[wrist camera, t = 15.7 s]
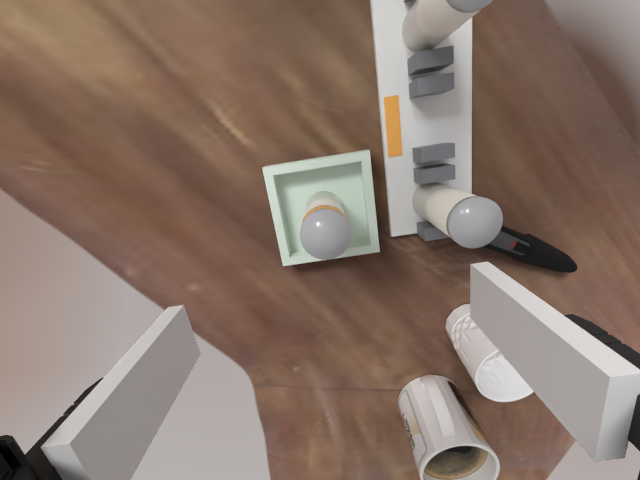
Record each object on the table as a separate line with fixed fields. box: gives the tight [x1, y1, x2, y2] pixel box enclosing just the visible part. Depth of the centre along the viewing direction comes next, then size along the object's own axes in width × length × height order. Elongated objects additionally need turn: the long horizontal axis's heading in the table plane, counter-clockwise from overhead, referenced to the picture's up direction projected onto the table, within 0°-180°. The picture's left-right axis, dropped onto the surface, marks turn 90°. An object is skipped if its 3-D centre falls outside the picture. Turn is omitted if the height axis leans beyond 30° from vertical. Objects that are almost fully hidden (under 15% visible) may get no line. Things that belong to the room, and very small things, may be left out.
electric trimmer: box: [482, 226, 577, 273], centre depth 37 cm, size 4×16×3 cm, turn 68°
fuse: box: [412, 182, 503, 248], centre depth 31 cm, size 4×4×11 cm
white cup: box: [445, 304, 534, 402], centre depth 38 cm, size 8×8×10 cm
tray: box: [262, 150, 380, 266], centre depth 36 cm, size 12×12×3 cm
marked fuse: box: [300, 191, 352, 260], centre depth 31 cm, size 4×4×11 cm
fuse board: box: [370, 0, 472, 241], centre depth 32 cm, size 26×10×4 cm, turn 9°
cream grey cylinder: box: [402, 0, 493, 52], centre depth 25 cm, size 4×4×11 cm
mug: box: [398, 374, 500, 480], centre depth 41 cm, size 10×12×11 cm
